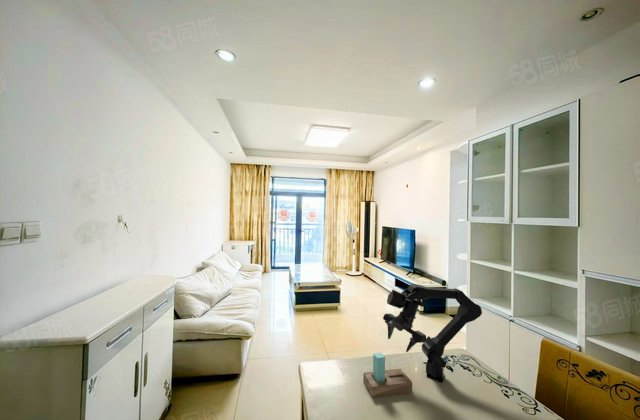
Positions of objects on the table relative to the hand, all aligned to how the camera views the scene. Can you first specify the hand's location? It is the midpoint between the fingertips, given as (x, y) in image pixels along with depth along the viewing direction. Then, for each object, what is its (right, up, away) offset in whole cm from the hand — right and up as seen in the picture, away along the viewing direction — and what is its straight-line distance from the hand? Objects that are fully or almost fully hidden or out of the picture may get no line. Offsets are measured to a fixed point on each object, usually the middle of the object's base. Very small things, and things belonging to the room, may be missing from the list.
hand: (397, 345), depth 108 cm
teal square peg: (-11, -12, -10) cm, 19 cm away
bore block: (-7, -12, -9) cm, 17 cm away
